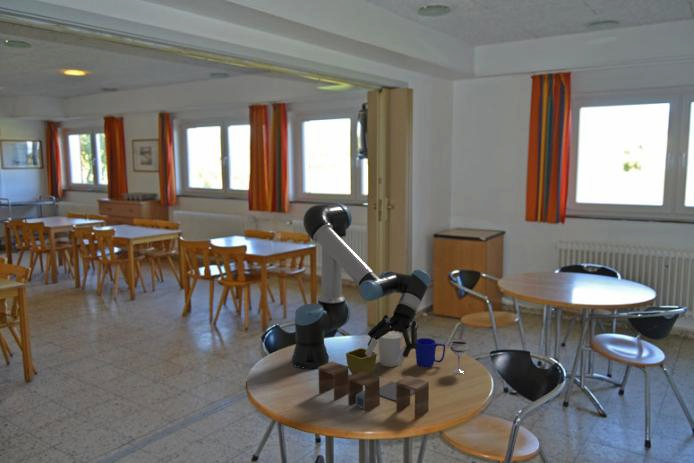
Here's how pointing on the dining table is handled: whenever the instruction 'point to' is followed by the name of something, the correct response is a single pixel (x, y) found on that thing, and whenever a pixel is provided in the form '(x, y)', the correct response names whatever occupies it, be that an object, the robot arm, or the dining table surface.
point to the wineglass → (459, 350)
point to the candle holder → (390, 348)
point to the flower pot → (360, 361)
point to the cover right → (420, 394)
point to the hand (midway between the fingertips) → (382, 360)
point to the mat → (390, 391)
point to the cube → (360, 399)
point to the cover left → (333, 379)
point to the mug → (427, 352)
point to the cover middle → (371, 389)
